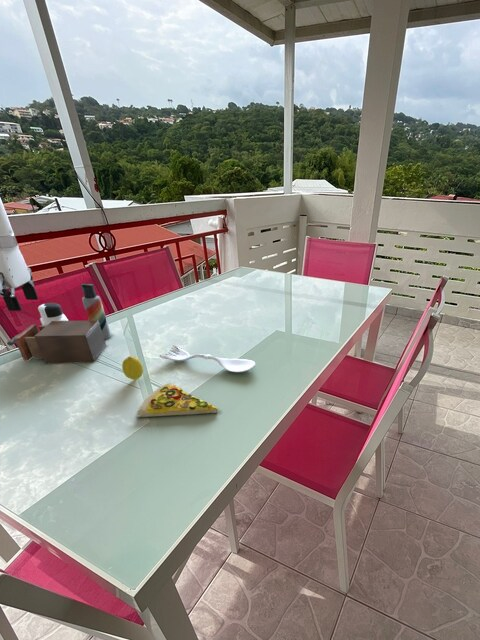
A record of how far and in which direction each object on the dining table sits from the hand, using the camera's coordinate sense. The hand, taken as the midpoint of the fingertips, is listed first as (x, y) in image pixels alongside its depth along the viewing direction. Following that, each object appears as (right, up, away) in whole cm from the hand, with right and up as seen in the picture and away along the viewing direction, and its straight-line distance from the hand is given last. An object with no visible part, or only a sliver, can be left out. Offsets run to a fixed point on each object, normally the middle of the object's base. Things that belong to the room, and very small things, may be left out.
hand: (24, 304), depth 98 cm
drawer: (-3, -12, +14) cm, 19 cm away
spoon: (+52, -17, +14) cm, 56 cm away
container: (-7, -6, +25) cm, 26 cm away
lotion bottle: (+7, -5, +28) cm, 29 cm away
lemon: (+31, -22, +4) cm, 39 cm away
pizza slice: (+50, -30, -6) cm, 59 cm away
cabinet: (+5, -13, +16) cm, 21 cm away
